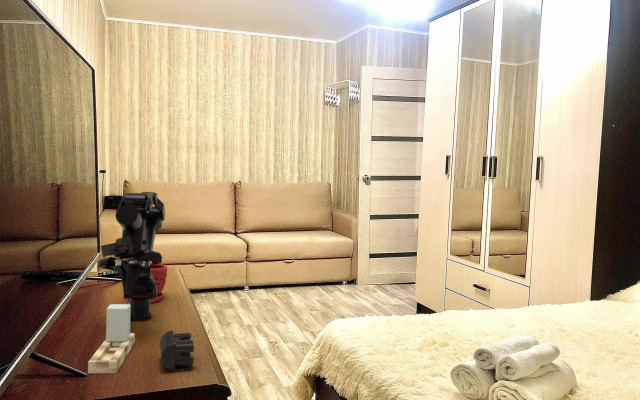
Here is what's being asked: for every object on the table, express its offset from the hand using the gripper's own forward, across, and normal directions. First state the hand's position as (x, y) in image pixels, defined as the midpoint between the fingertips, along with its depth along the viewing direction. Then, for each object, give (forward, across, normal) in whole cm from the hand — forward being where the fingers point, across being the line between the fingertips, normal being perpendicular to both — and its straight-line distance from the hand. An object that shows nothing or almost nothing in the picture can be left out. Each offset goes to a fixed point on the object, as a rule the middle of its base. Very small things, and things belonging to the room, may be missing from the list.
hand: (126, 292), depth 141 cm
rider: (+14, +3, -3) cm, 14 cm away
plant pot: (-4, -27, +31) cm, 41 cm away
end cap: (+19, +20, 0) cm, 28 cm away
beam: (+17, +5, -6) cm, 19 cm away
